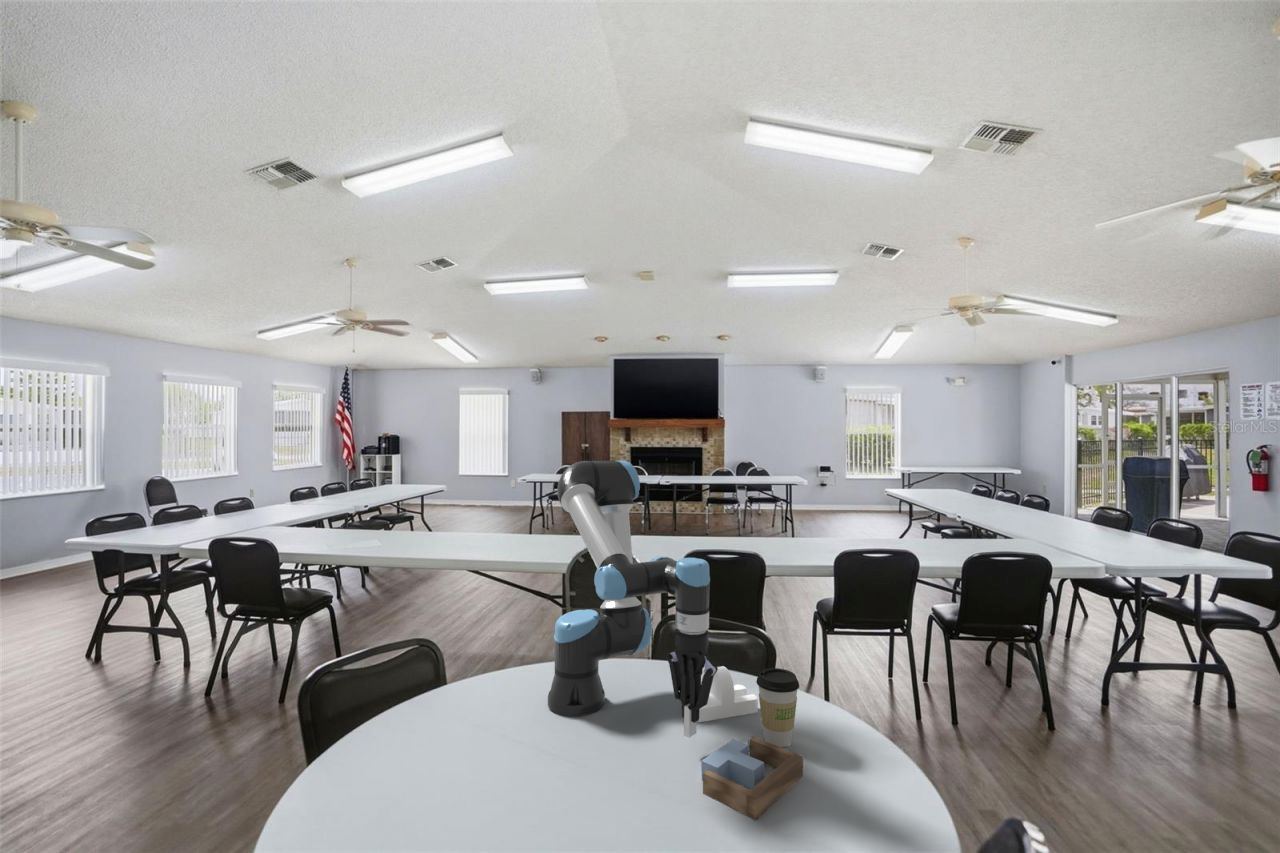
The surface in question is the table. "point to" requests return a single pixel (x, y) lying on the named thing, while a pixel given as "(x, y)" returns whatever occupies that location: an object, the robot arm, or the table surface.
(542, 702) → the table surface
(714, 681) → the white slotted block
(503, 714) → the table surface
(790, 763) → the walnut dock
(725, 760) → the t block
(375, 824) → the table surface
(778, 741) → the coffee cup
